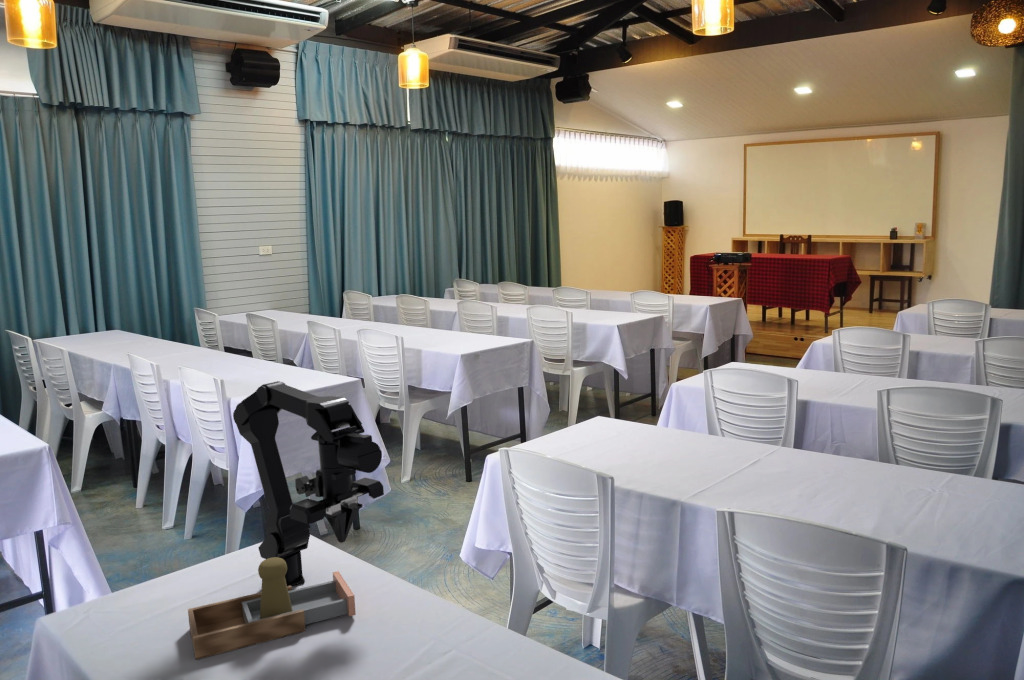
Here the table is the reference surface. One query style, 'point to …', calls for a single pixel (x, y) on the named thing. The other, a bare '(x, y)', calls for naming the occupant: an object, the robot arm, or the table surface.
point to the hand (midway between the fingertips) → (341, 541)
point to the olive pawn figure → (274, 588)
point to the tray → (312, 601)
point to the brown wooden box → (237, 626)
